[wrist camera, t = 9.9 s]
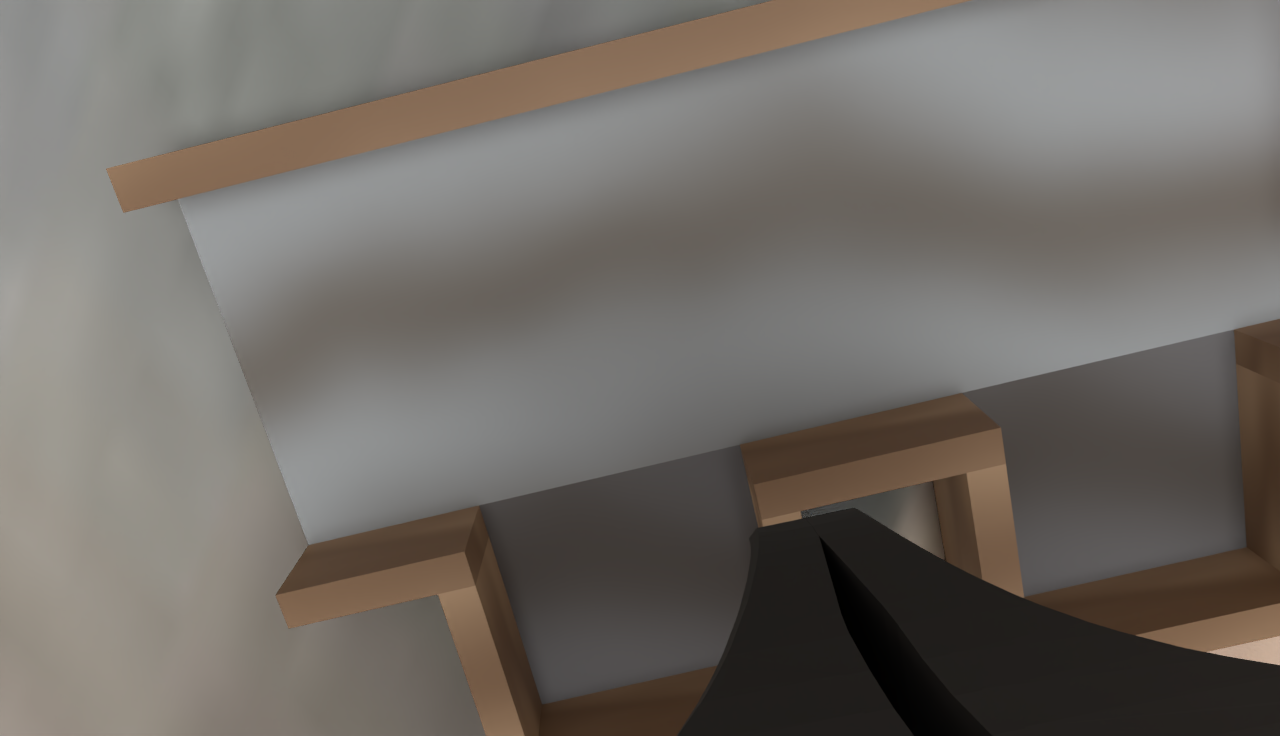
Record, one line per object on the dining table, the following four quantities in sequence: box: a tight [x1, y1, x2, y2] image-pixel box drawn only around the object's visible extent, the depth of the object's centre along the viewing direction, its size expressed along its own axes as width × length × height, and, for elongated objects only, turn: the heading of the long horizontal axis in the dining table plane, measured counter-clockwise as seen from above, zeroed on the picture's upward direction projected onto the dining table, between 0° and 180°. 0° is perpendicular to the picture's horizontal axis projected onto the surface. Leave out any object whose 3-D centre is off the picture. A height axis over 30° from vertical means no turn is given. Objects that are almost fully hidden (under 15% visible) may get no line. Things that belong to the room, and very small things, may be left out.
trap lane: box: [106, 0, 1280, 736], centre depth 20 cm, size 15×29×3 cm, turn 103°
